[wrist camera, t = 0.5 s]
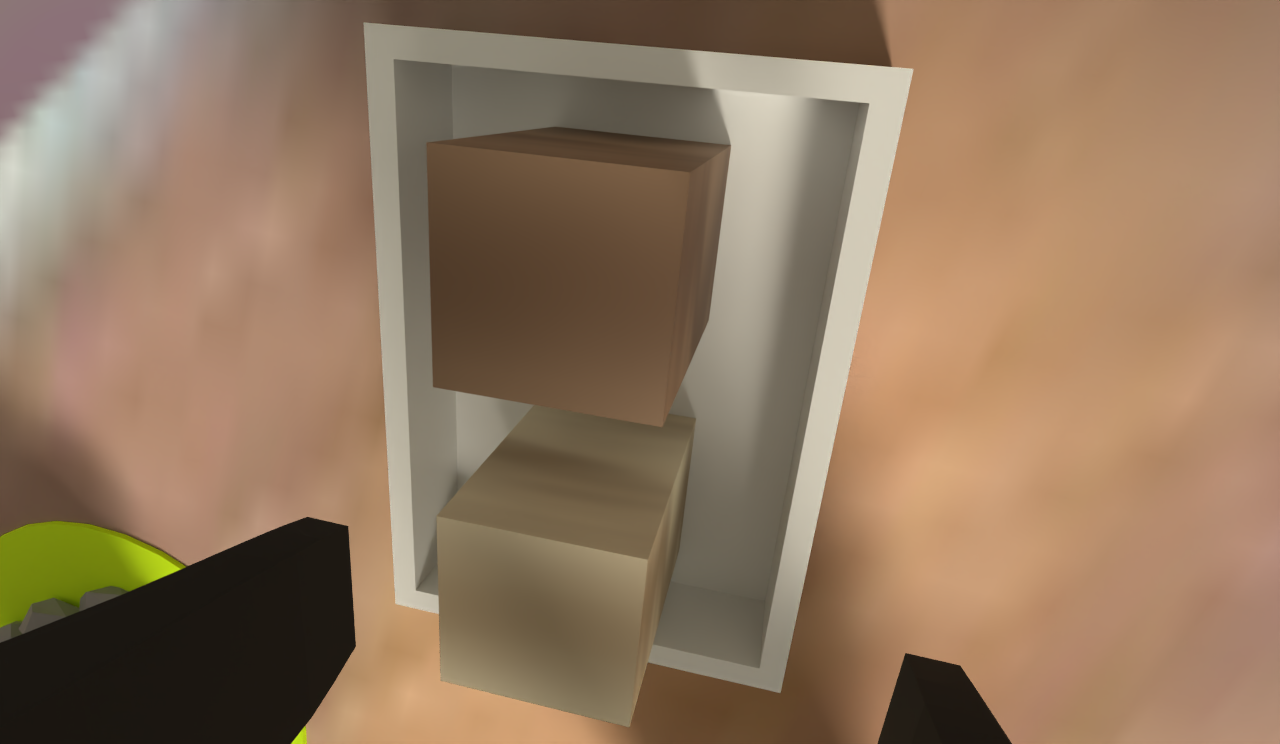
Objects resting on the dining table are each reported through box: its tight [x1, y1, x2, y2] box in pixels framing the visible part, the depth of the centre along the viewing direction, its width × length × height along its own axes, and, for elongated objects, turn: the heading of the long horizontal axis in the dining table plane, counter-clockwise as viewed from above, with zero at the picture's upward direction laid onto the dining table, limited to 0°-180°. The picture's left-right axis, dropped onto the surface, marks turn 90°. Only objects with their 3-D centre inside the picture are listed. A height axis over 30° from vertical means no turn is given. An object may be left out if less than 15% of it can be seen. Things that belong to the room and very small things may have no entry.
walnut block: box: [426, 127, 731, 427], centre depth 14 cm, size 4×4×6 cm
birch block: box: [436, 405, 696, 727], centre depth 16 cm, size 4×4×6 cm
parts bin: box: [364, 23, 913, 693], centre depth 17 cm, size 14×10×3 cm
